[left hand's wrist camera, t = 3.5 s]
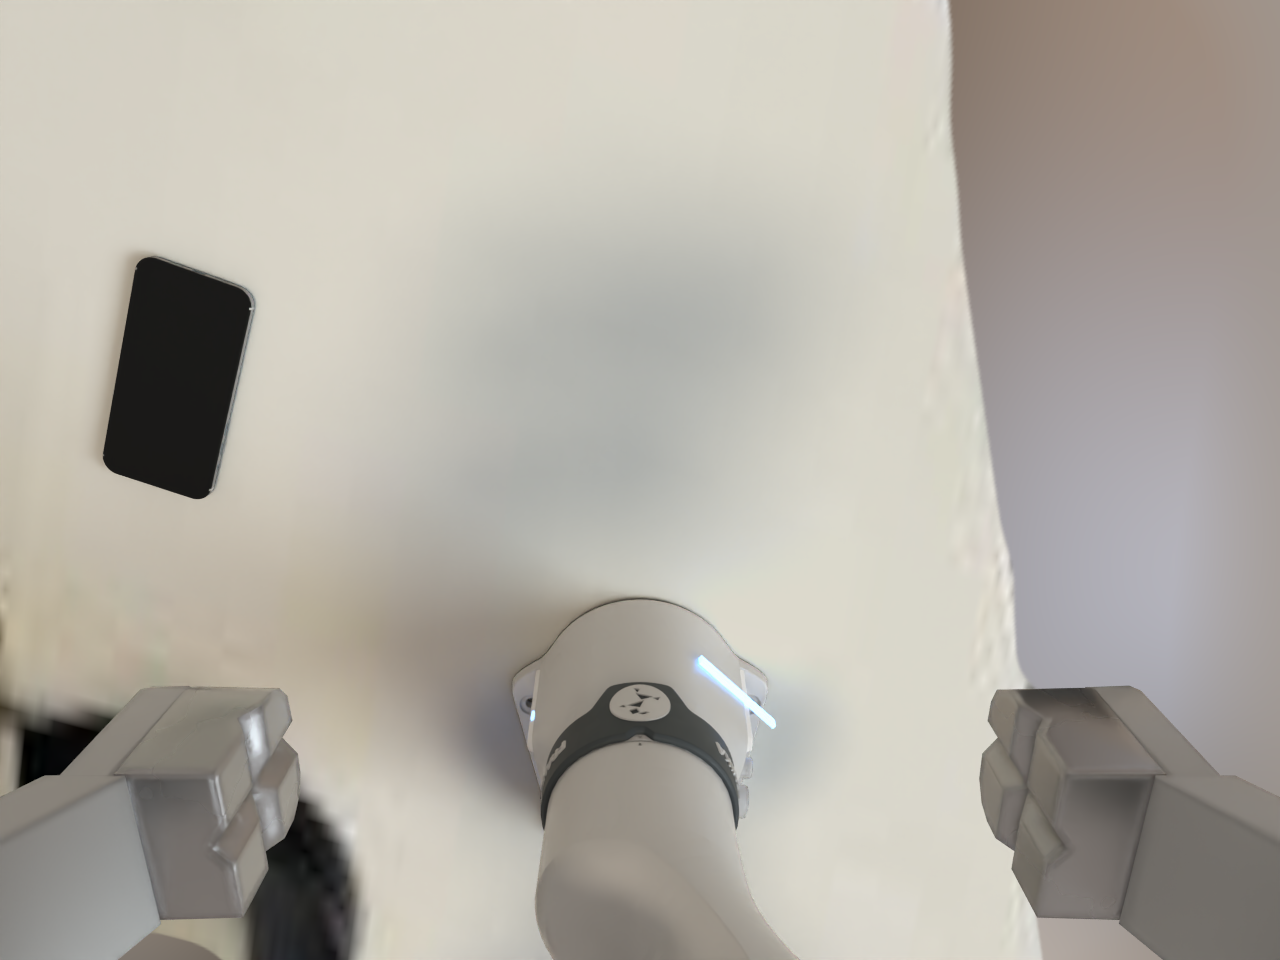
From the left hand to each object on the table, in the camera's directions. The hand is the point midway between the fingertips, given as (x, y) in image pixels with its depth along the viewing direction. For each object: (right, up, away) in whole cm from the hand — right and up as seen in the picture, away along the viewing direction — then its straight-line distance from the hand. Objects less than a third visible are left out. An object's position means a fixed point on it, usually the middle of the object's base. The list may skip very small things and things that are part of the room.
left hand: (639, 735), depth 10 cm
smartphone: (-30, +9, +48) cm, 57 cm away
